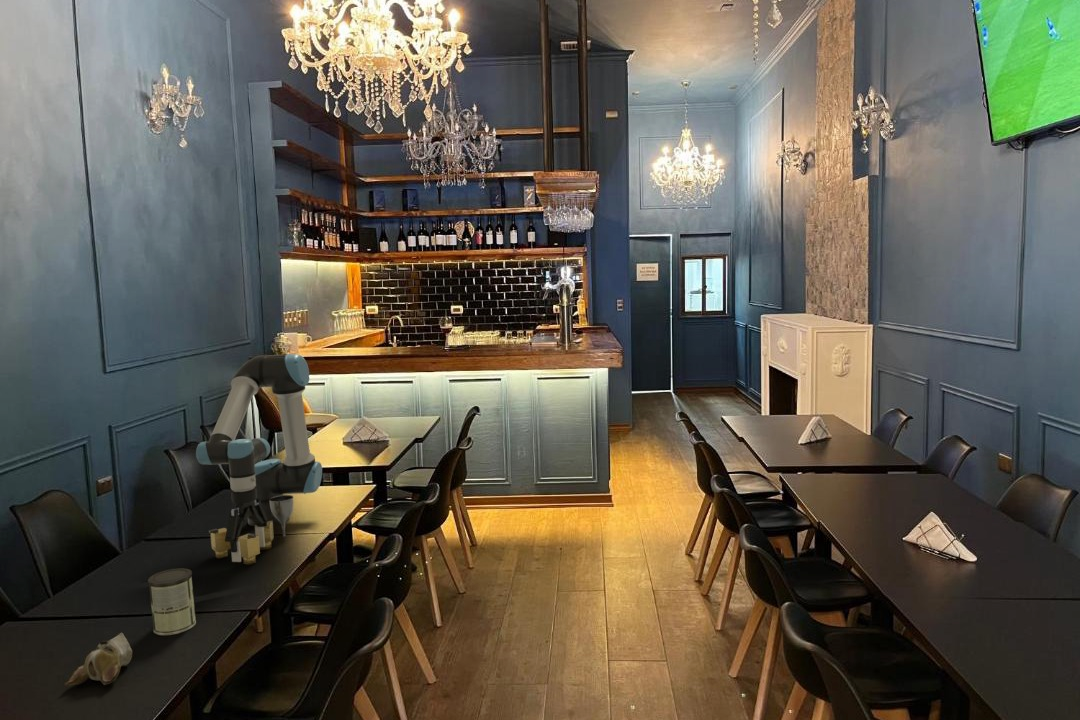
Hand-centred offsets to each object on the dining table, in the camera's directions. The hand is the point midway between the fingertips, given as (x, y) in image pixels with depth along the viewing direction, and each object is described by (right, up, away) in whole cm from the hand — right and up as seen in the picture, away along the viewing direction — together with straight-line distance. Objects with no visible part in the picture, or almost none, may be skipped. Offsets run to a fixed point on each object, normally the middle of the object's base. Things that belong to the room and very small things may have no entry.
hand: (249, 553), depth 246 cm
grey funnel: (+3, -2, +26) cm, 26 cm away
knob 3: (0, -1, +14) cm, 14 cm away
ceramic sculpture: (-8, -12, -68) cm, 69 cm away
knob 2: (0, -3, 0) cm, 3 cm away
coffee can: (-4, -9, -42) cm, 43 cm away
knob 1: (-12, -3, +7) cm, 14 cm away
